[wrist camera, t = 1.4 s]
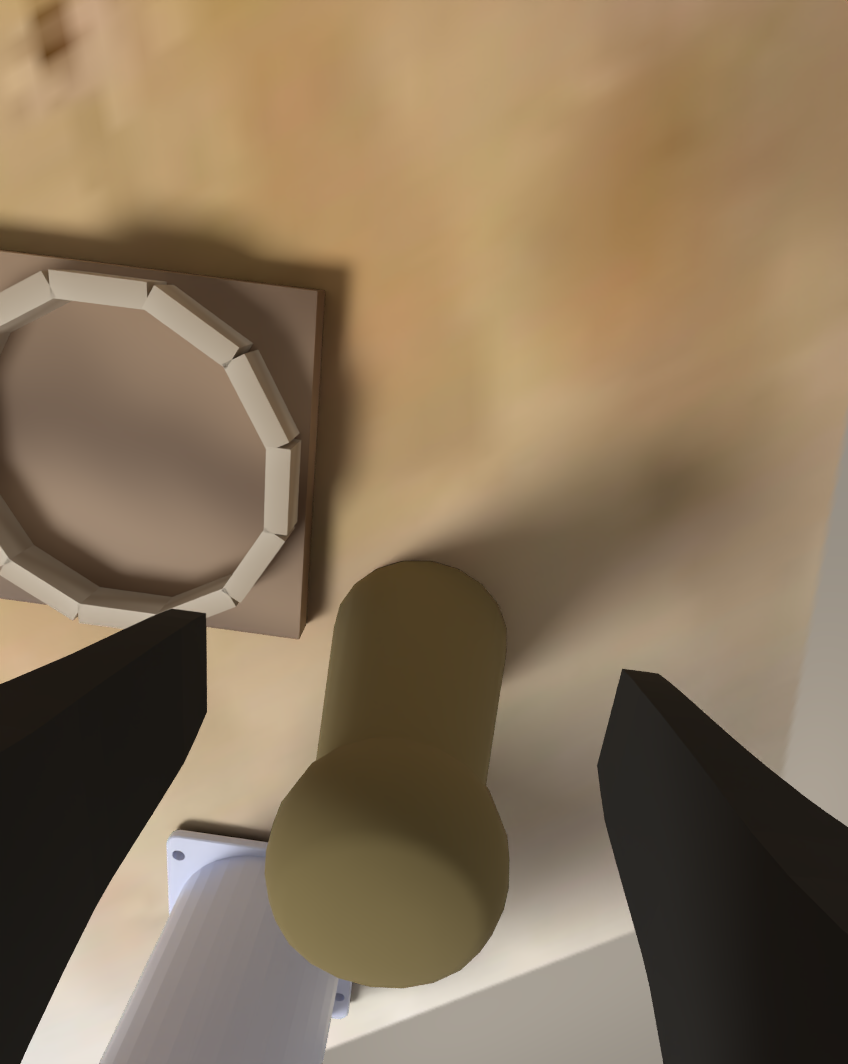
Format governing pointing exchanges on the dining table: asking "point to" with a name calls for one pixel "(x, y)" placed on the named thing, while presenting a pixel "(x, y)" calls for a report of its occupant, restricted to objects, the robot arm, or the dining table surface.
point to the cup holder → (157, 443)
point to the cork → (398, 787)
